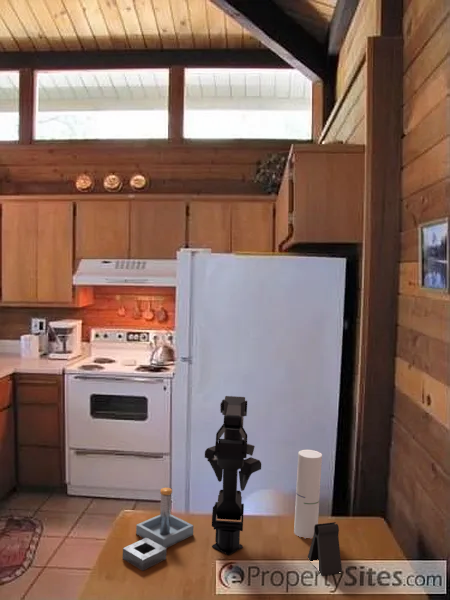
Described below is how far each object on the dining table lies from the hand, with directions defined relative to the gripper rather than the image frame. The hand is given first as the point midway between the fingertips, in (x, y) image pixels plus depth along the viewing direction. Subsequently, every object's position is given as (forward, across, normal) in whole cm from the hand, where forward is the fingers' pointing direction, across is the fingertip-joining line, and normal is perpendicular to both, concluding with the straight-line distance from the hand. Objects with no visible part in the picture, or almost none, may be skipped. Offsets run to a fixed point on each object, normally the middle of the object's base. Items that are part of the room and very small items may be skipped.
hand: (231, 485), depth 174 cm
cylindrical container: (+13, -19, -14) cm, 27 cm away
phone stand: (+13, -33, -2) cm, 36 cm away
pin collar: (+13, +4, +31) cm, 34 cm away
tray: (+13, +10, +18) cm, 24 cm away
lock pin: (+12, +10, +18) cm, 24 cm away
